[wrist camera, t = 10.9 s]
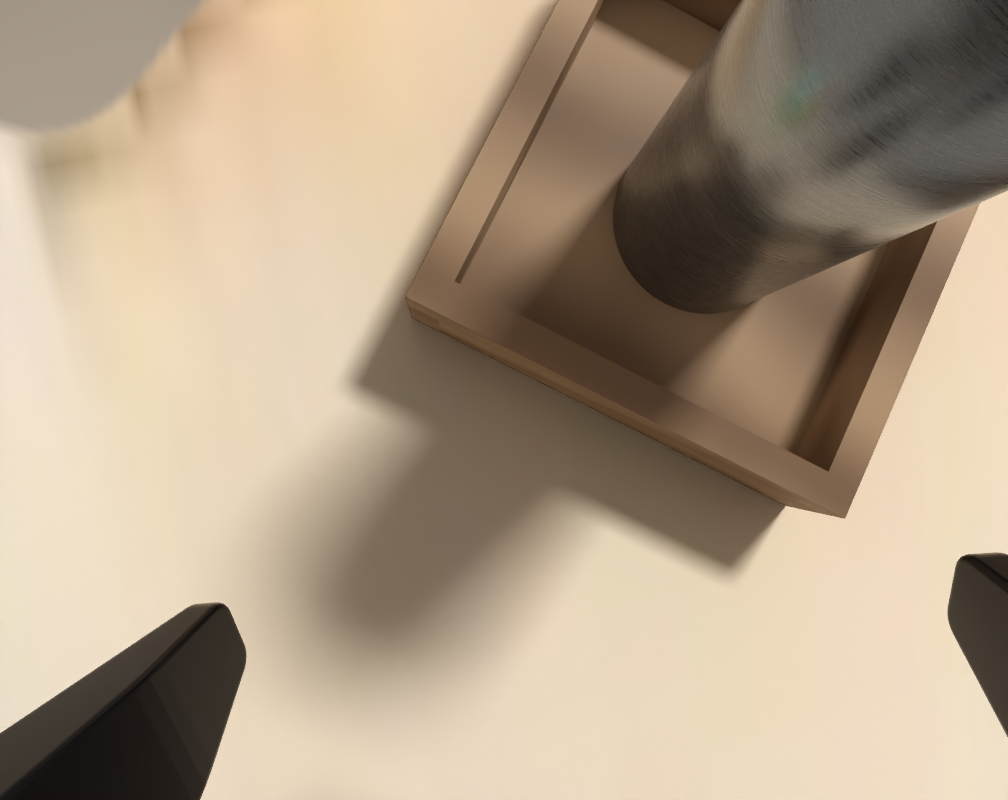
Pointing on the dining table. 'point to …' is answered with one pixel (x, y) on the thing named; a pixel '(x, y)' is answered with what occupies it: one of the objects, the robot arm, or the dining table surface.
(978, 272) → the dining table surface
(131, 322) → the dining table surface
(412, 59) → the dining table surface
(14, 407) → the dining table surface
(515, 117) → the tray
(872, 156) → the tin
